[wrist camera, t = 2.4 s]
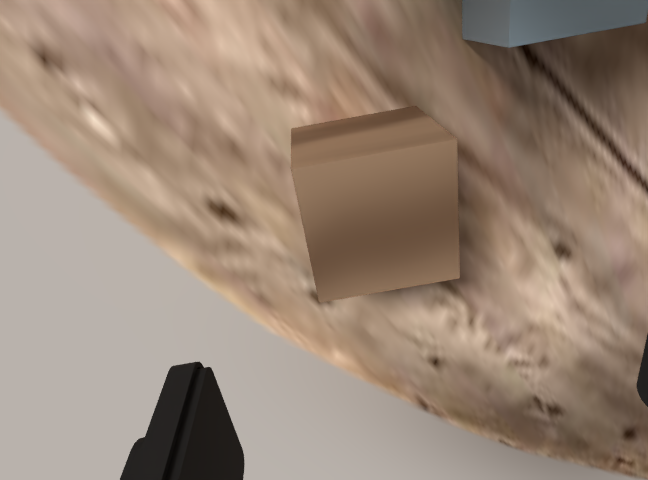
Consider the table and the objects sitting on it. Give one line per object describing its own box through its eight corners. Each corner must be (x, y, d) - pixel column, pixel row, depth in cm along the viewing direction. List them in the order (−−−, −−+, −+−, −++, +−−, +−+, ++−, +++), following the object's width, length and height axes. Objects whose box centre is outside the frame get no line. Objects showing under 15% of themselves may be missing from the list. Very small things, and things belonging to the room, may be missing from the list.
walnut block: (291, 128, 17) (291, 169, 13) (415, 105, 17) (457, 139, 13) (313, 236, 20) (319, 302, 15) (422, 217, 20) (459, 278, 15)
